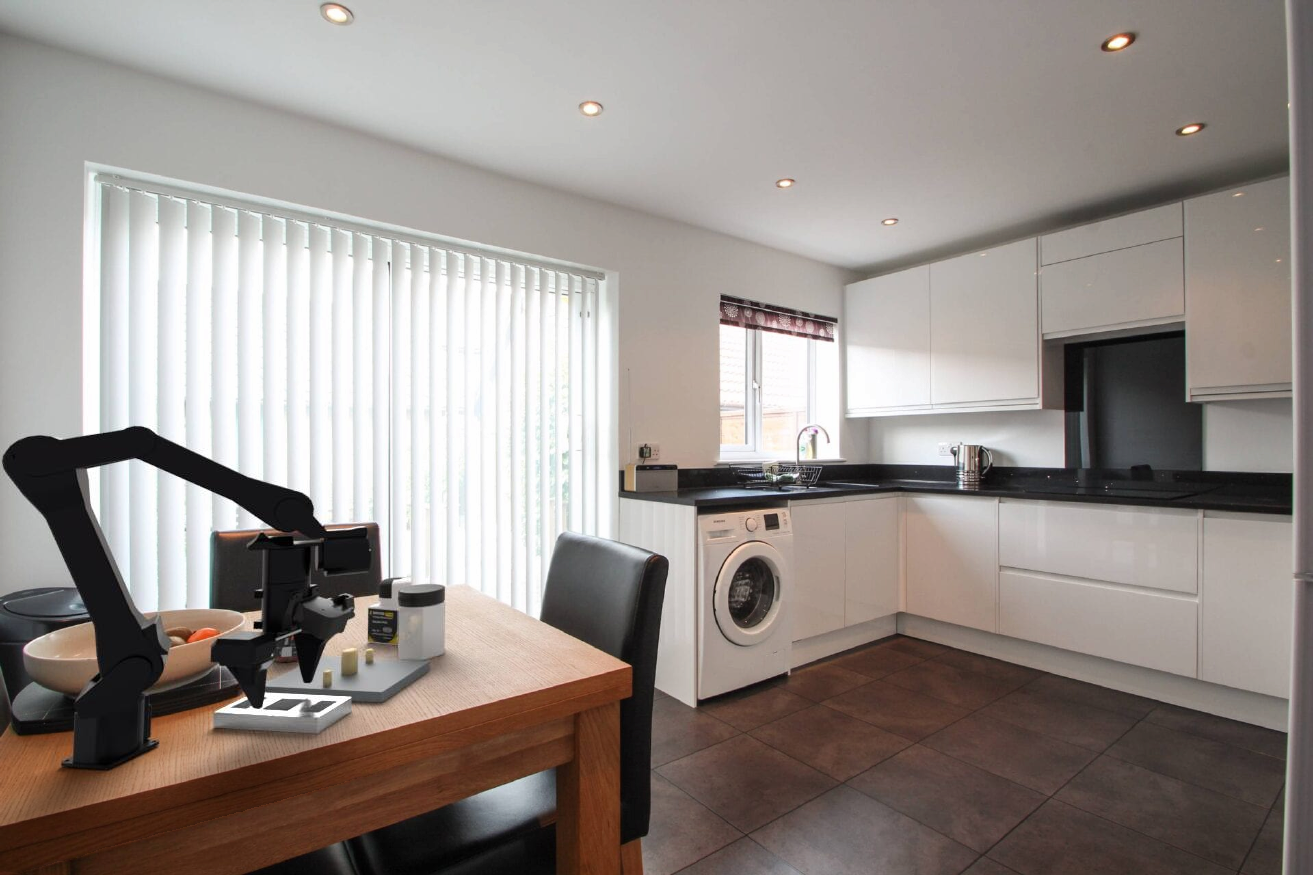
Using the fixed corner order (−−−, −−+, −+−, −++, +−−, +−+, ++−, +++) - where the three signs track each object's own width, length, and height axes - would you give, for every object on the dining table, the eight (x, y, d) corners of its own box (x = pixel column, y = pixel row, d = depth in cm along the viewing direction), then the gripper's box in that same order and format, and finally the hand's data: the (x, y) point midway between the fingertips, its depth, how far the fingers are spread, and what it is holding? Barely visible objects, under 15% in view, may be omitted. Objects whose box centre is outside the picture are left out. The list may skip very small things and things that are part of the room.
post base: (382, 702, 88) (382, 667, 88) (258, 696, 91) (259, 662, 91) (429, 669, 102) (430, 639, 102) (321, 665, 104) (322, 636, 105)
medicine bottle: (366, 642, 117) (367, 581, 118) (392, 633, 124) (393, 574, 125) (396, 646, 115) (397, 583, 116) (421, 635, 122) (422, 576, 123)
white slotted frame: (351, 711, 85) (351, 696, 85) (317, 733, 78) (317, 717, 78) (255, 706, 87) (255, 692, 87) (213, 727, 80) (213, 712, 80)
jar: (385, 660, 107) (386, 592, 107) (409, 646, 115) (409, 583, 116) (434, 661, 106) (434, 593, 107) (453, 647, 114) (454, 584, 115)
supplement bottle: (293, 664, 105) (294, 599, 105) (264, 662, 106) (265, 597, 107) (318, 653, 111) (320, 591, 111) (291, 651, 112) (292, 590, 112)
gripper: (290, 596, 73) (287, 727, 72) (380, 569, 91) (378, 673, 91) (208, 594, 74) (204, 722, 74) (313, 568, 93) (311, 670, 92)
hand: (284, 694), depth 82 cm, fingers open, 9 cm apart
